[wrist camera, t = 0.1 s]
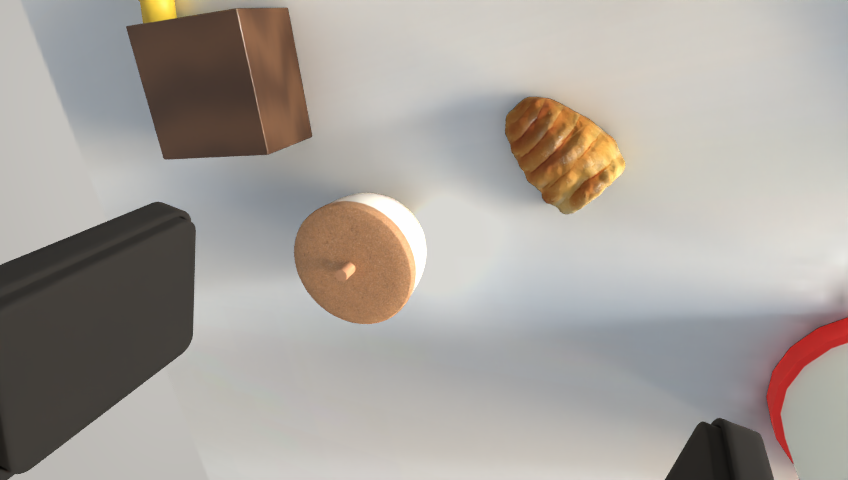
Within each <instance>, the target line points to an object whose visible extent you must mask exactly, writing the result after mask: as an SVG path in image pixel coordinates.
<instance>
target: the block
mask: <svg viewBox="0 0 848 480" xmlns="http://www.w3.org/2000/svg"><path fill="white" fill-rule="evenodd" d="M126 28H127V32H128V35H129V39H130V42H131V46H132V49H133V53H134V56H135V60H136V63H137V67H138V70H139V74H140V77H141V81H142V84H143V88H144V91H145V95H146V98H147V102H148V105H149V109H150V112H151V116H152V119H153V123H154V126H155V130H156V133H157V137H158V140H159V144H160V147H161V151H162V154H163V158H164V159H187V158H208V157H229V156H250V155H268V154H271V153H273V152H276V151H278V150H281V149H283V148H286V147H288V146H291V145H293V144H296V143H298V142H300V141H303V140H305V139H308V138H310V137H312V133H311V128H310V123H309V117H308V112H307V107H306V101H305V96H304V91H303V86H302V80H301V75H300V70H299V64H298V59H297V54H296V48H295V43H294V38H293V33H292V27H291V22H290V17H289V11H288V8H235V9H229V10H223V11H217V12H211V13H205V14H199V15H192V16H186V17H180V18H174V19H168V20H162V21H156V22H150V23H143V24H137V25H131V26H127V27H126Z"/></svg>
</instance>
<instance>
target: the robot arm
mask: <svg viewBox="0 0 848 480" xmlns="http://www.w3.org/2000/svg"><path fill="white" fill-rule="evenodd" d="M195 236H196V230H195V226H194V224H193V223H192V222H191V218H190V216H189V214H188V213H187V212H185V211H183V210H180V209H178V208H175V207H172V206H170V205H167V204H165V203H162V202H155V203H151V204H149V205H146V206H144V207H141V208H139V209H137V210H134V211H132V212H129V213H127V214H124V215H122V216H119V217H117V218H114V219H112V220H110V221H107V222H105V223H102V224H100V225H97V226H95V227H92V228H90V229H88V230H85V231H83V232H80V233H78V234H76V235H73V236H70V237H68V238H66V239H63V240H60V241H58V242H56V243H53V244H51V245H48V246H46V247H43V248H41V249H39V250H36V251H33V252H31V253H29V254H26V255H24V256H21V257H19V258H16V259H14V260H11V261H9V262H6V263H4V264H2V265H0V480H7V479H9V478H10V477H12V476H13V475H14V474H21V473H24V472H26V471H28V470H30V469H31V468H32V467H34V466H35V465H37V464H38V463H39V462H40V461H41V460H43V459H44V458H46V457H47V456H48V455H50V454H51V453H52V452H54V451H55V450H56V449H58V448H59V447H60V446H61V445H63V444H64V443H65V442H67V441H68V440H69V439H71V438H72V437H73V436H74V435H76V434H77V433H79V432H80V431H81V430H82V429H84V428H85V427H86V426H87V425H89V424H90V423H92V422H93V421H94V420H96V419H97V418H98V417H99V416H101V415H102V414H103V413H105V412H106V411H107V410H109V409H110V408H111V407H112V406H114V405H115V404H116V403H118V402H119V401H120V400H122V399H123V398H124V397H126V396H127V395H128V394H130V393H131V392H132V391H134V390H135V389H136V388H137V387H139V386H140V385H141V384H143V383H144V382H145V381H146V380H148V379H149V378H151V377H152V376H153V375H155V374H156V373H157V372H159V371H160V370H161V369H162V368H164V367H165V366H166V365H168V364H169V363H170V362H172V361H173V360H174V359H176V358H177V357H178V356H180V355H181V354H182V353H183V352H184V351H185V350H186V349H187V348H188V346H189V344H190V343H191V340H192V336H193V310H194V273H195ZM665 480H774V478H773V475H772V471H771V468H770V464H769V460H768V457H767V453H766V450H765V446H764V443H763V439H762V437H761V435H760V434H759V433H757V432H755V431H753V430H750V429H747V428H745V427H742V426H740V425H737V424H735V423H732V422H729V421H727V420H724V419H722V418H717V419H716V420H714V421H713V422H712V424H708V423H706V422H700V423H699V424H698V425H697V427H696V428H695V430H694V431H693V433H692V435H691V437H690V438H689V440H688V442H687V443H686V445H685V447H684V448H683V450H682V452H681V453H680V455H679V457H678V459H677V460H676V462H675V464H674V465H673V467H672V469H671V470H670V472H669V474H668V475H667V477H666V479H665Z"/></svg>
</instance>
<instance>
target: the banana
mask: <svg viewBox="0 0 848 480" xmlns="http://www.w3.org/2000/svg"><path fill="white" fill-rule="evenodd" d="M138 1H140V5H141V12H142V19H143V23H150V22H156V21H162V20H168V19H174V18H177V17H176V9H175V1H174V0H138Z"/></svg>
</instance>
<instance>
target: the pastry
mask: <svg viewBox="0 0 848 480" xmlns="http://www.w3.org/2000/svg"><path fill="white" fill-rule="evenodd" d="M505 126H506V128H505V134H506V136H507V138H508V141H509V143H510V145H511V152H512V153H513V154H514V156H515V158H516V159H517V161H518V164H519V166H520V168H521V169H522V170H523V171H524V173H525V176H526V179H527V181H528V182H529V183H531V184H532V185H534V186H535V187H536V188H537V189H538V190H539V191H540V192H541V193H542V198H543V200H544V201H545V202H546V203H548V204H552V205H554V206H556V207H557V208H558V209H559V210H560V212H562V213H564V214H572V213H574V212H576V211H577V210H579V209H581V208H582V207H584V206H585V205H587V204H588V203H590V202H591V201H592V200H594V199H595V198H597V197H598V196H599V195H600V194H601V193H602V192H603V191H604V189H605V188H606V187H608V186H610V185H611V183H612V182H613V181H614V180H615V179H616V178H618V177H619V176H620V175H621V174H622V173H623V171H624V169H625V161H624V159H623V157H622V155H621V153H620V151H619V149H618V146H617V144H616V142H615V140H614V139H613V138H612V137H611V136H610V135H608V134H607V133H606V132H604V131H603V130H602V129H601V128H599V127H598V126H597V125H596V124H595V123H594V122H592V121H591V120H590V119H588V118H586V117H584V116H582V115H581V114H579V113H577V112H575V111H573V110H571V109H570V108H568V107H566V106H564V105H563V104H561V103H559V102H557V101H555V100H552V99H549V98H541V97H527V98H525V99H523V100H522V101H521V102H520V103H518V104H517V106H516V107H515V108H514V109H513V110H511V111H510V112H509V113H508V115H507V116H506V125H505Z"/></svg>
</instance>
